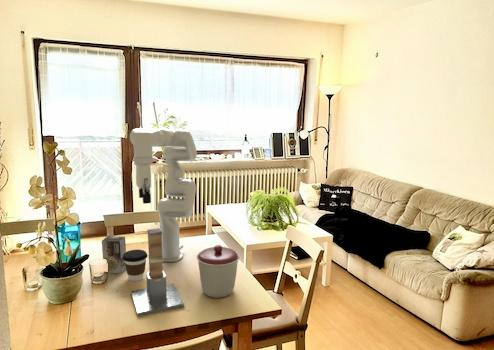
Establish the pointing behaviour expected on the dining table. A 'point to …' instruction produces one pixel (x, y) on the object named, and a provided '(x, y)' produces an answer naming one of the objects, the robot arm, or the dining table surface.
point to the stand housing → (156, 296)
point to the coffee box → (114, 253)
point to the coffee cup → (135, 264)
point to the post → (155, 252)
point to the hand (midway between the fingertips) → (144, 200)
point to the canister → (218, 270)
